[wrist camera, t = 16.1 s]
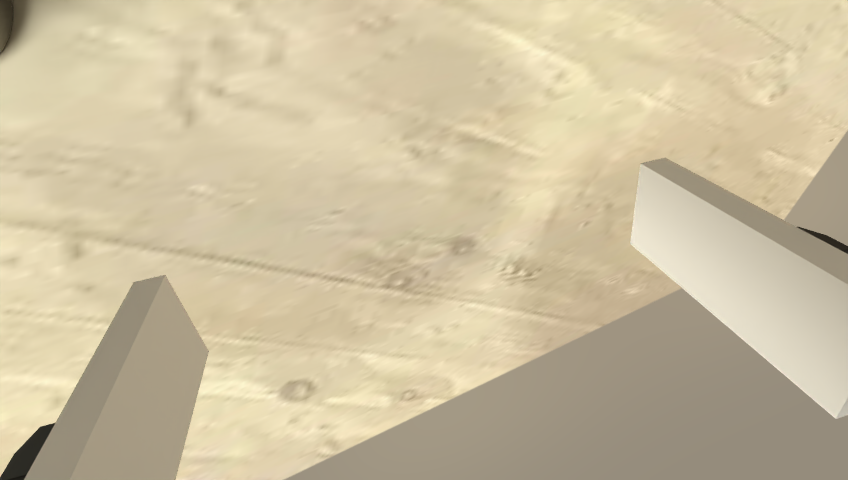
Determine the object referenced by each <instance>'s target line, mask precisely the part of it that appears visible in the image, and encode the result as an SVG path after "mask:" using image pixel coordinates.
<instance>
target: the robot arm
mask: <svg viewBox="0 0 848 480" xmlns="http://www.w3.org/2000/svg"><path fill="white" fill-rule="evenodd" d="M12 21H13V7H12V0H0V53H1V51H2V50H3V49H4V47H5V45H6V43H7V41H8V39H9V36H10V32H11V28H12ZM630 244H631V245H632V246H634V247H635V248H636V249H637V250H638V251H639V252H641V253H642V254H643V255H644V256H645V257H646V258H648V259H649V260H650V261H651V262H652V263H653V264H655V265H656V266H657V267H658V268H659V269H661V270H662V271H663V272H664V273H665V274H666V275H668V276H669V277H670V278H671V279H672V280H673V281H675V282H676V283H677V284H678V285H679V286H681V287H682V288H683V289H684V290H685V291H686V292H688V293H689V294H690V295H691V296H692V297H693V298H695V299H696V300H697V301H698V302H699V303H700V304H702V305H703V306H704V307H705V308H706V309H708V310H709V311H710V312H711V313H712V314H713V315H715V316H716V317H717V318H718V319H719V320H720V321H722V322H723V323H724V324H725V325H726V326H728V327H729V328H730V329H731V330H732V331H733V332H735V333H736V334H737V335H738V336H739V337H740V338H742V339H743V340H744V341H745V342H746V343H747V344H749V345H750V346H751V347H752V348H753V349H755V350H756V351H757V352H758V353H759V354H760V355H762V356H763V357H764V358H765V359H766V360H767V361H769V362H770V363H771V364H772V365H773V366H774V367H776V368H777V369H778V370H779V371H780V372H781V373H783V374H784V375H785V376H786V377H787V378H789V379H790V380H791V381H792V382H793V383H795V384H796V385H797V386H798V387H799V388H800V389H802V390H803V391H804V392H805V393H806V394H807V395H808V396H810V397H811V398H812V399H813V400H814V401H816V402H817V403H818V404H819V405H820V406H821V407H823V408H824V409H825V410H826V411H827V412H828V413H830V414H831V415H832V416H833V417H834V418H836V419H837V418H840V417H843V416H846V415H848V246H846V245H844V244H842V243H840V242H838V241H837V240H835V239H833V238H831V237H829V236H827V235H824V234H820V233H817V232H814V231H810V230H807V229H804V228H800V227H795V226H793V225H792V224H790V223H788V222H786V221H784V220H782V219H780V218H778V217H776V216H775V215H773V214H771V213H769V212H767V211H765V210H763V209H761V208H759V207H758V206H756V205H754V204H752V203H750V202H748V201H746V200H744V199H742V198H740V197H739V196H737V195H735V194H733V193H731V192H729V191H727V190H725V189H723V188H722V187H720V186H718V185H716V184H714V183H712V182H710V181H708V180H706V179H704V178H703V177H701V176H699V175H697V174H695V173H693V172H691V171H689V170H687V169H686V168H684V167H682V166H680V165H678V164H676V163H674V162H672V161H670V160H668V159H667V158H662V159H658V160H653V161H649V162H645V163H641V165H640V172H639V180H638V188H637V196H636V203H635V211H634V219H633V227H632V234H631V242H630ZM208 352H209V351H208V349H207V347H206V346H205V344H204V342H203V340H202V339H201V337H200V335H199V333H198V332H197V330H196V328H195V326H194V325H193V323H192V321H191V319H190V318H189V316H188V314H187V312H186V310H185V309H184V307H183V305H182V303H181V302H180V300H179V298H178V296H177V295H176V293H175V291H174V289H173V288H172V286H171V284H170V282H169V281H168V279H167V277H166V275H163V276H159V277H154V278H150V279H146V280H141V281H137V282H134V283H133V285H132V286H131V288H130V290H129V292H128V294H127V295H126V297H125V299H124V301H123V303H122V304H121V306H120V308H119V310H118V312H117V313H116V315H115V317H114V319H113V321H112V322H111V324H110V326H109V328H108V330H107V331H106V333H105V335H104V337H103V339H102V340H101V342H100V344H99V346H98V348H97V349H96V351H95V353H94V355H93V357H92V358H91V360H90V362H89V364H88V366H87V367H86V369H85V371H84V373H83V375H82V376H81V378H80V380H79V382H78V384H77V385H76V387H75V389H74V391H73V393H72V394H71V396H70V398H69V400H68V402H67V403H66V405H65V407H64V409H63V410H62V412H61V414H60V416H59V418H58V419H57V421H56V423H53V424H49V425H46V426H42V427H40V428H39V429H38V430H37V431H36V432H35V433H34V434H33V435H32V436H31V437H30V438H29V439H28V440H27V441H26V442H25V443H24V444H23V446H22V447H21V448H20V449H19V450H18V451H17V452H16V453H15V454H14V456H13V457H12V459H11V460H10V462H9V464H8V465H7V467H6V469H5V470H4V472H3V474H2V475H1V477H0V480H175V479H176V475H177V471H178V467H179V464H180V460H181V456H182V452H183V448H184V444H185V440H186V437H187V433H188V429H189V425H190V421H191V417H192V414H193V410H194V406H195V402H196V398H197V394H198V390H199V387H200V383H201V379H202V375H203V371H204V367H205V364H206V360H207V356H208Z"/></svg>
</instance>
